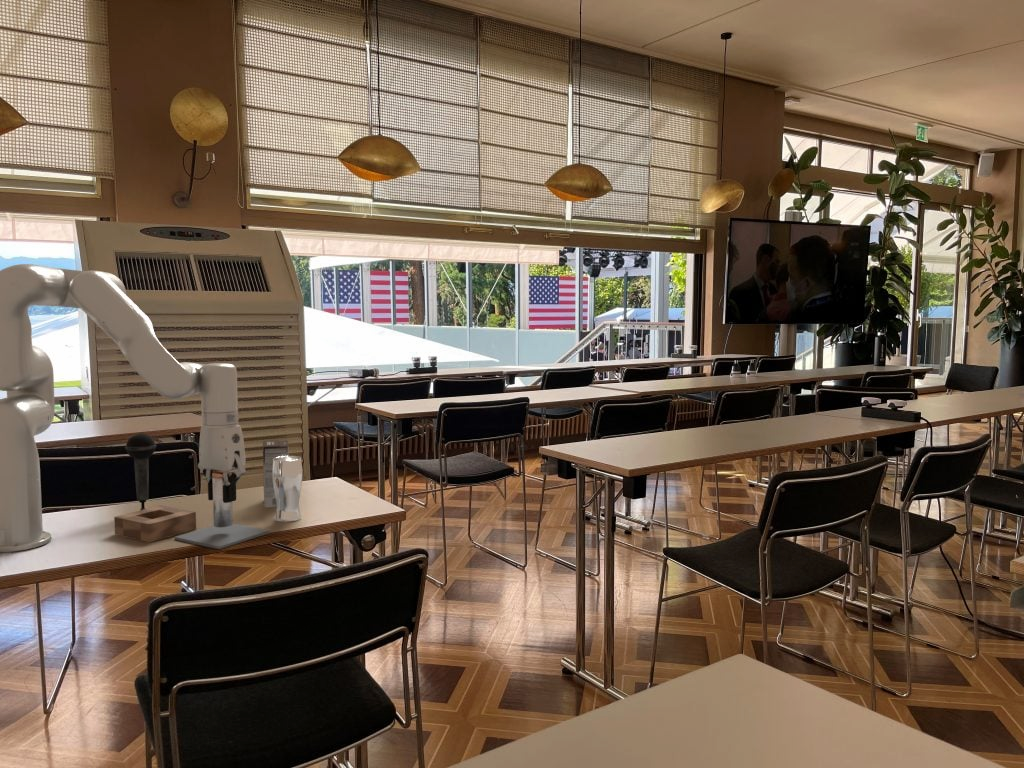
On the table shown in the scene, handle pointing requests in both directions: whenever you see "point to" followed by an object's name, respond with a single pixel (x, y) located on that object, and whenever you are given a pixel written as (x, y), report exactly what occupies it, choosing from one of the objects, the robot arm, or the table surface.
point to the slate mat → (222, 535)
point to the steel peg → (220, 502)
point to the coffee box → (271, 468)
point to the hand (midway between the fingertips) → (222, 499)
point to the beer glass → (287, 487)
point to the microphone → (141, 463)
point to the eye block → (155, 523)
